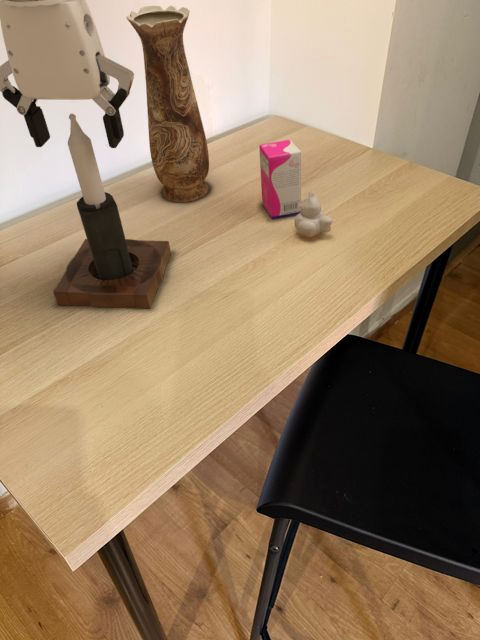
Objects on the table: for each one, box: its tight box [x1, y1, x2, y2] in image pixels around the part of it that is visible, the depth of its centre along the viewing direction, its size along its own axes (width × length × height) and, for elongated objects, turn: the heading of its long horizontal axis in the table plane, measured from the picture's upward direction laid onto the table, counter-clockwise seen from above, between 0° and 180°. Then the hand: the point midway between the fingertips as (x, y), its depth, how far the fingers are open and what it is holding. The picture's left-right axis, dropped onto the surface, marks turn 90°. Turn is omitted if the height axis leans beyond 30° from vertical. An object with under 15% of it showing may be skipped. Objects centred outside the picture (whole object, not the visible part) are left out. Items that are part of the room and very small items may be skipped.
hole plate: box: [52, 238, 172, 309], centre depth 82 cm, size 14×14×2 cm
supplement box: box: [258, 139, 302, 221], centre depth 92 cm, size 6×6×12 cm
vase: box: [125, 5, 210, 203], centre depth 92 cm, size 10×11×30 cm
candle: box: [67, 113, 134, 280], centre depth 74 cm, size 5×5×25 cm
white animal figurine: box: [293, 189, 334, 238], centre depth 87 cm, size 5×7×8 cm
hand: (79, 143), depth 68 cm, fingers open, 9 cm apart
